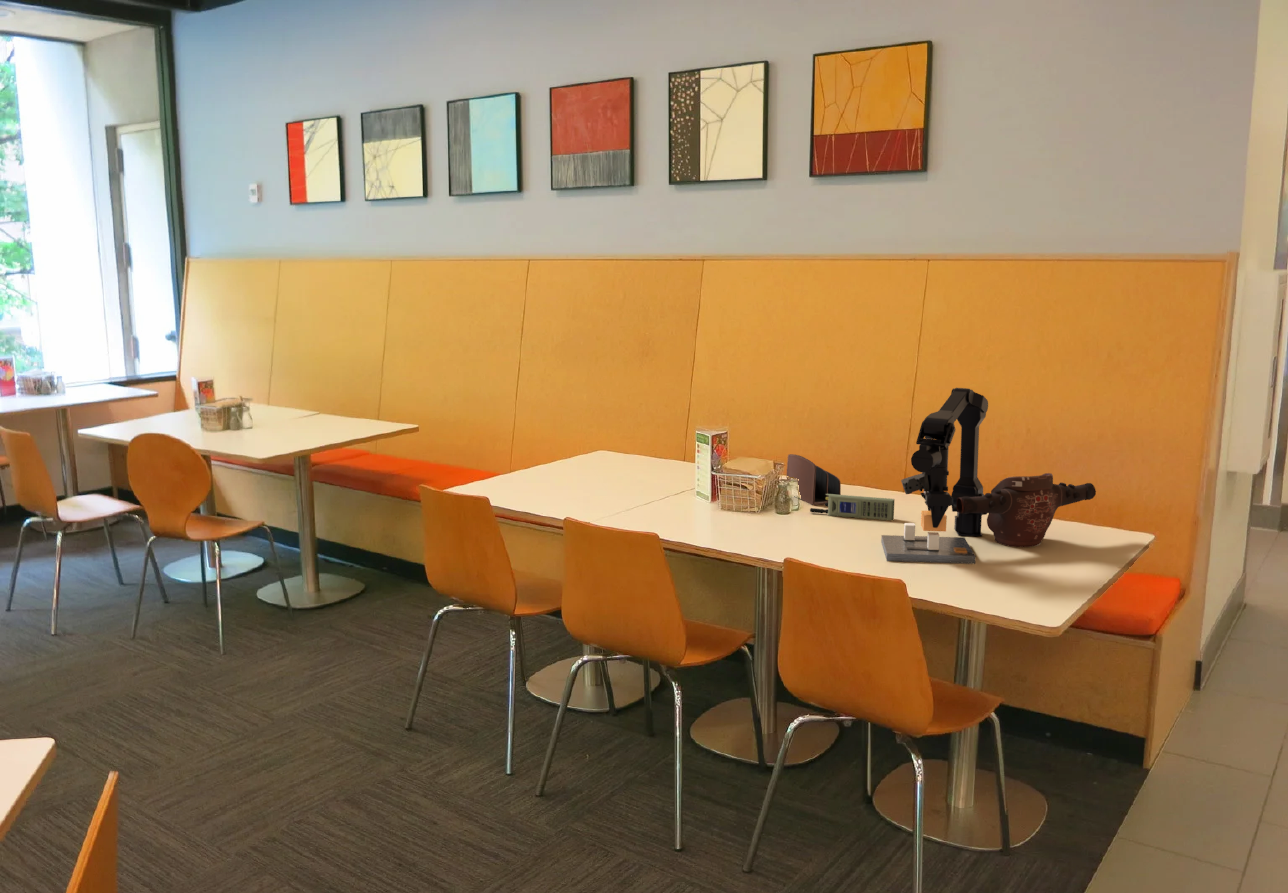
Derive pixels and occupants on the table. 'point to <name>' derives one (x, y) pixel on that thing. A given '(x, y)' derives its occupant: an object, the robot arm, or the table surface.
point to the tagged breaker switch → (933, 541)
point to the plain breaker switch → (909, 531)
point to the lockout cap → (927, 522)
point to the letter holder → (812, 480)
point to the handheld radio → (858, 507)
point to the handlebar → (1024, 507)
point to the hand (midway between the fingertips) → (933, 524)
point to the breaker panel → (918, 551)
